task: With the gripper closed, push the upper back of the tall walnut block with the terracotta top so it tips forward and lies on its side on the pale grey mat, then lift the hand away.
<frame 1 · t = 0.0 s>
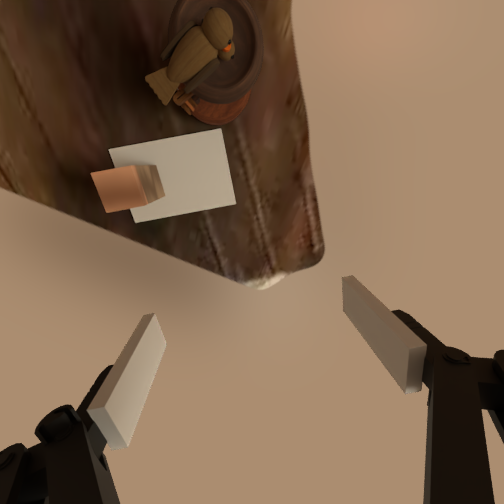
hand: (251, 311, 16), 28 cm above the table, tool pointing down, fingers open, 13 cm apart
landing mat: (176, 178, 39), on the table
walnut block: (146, 183, 39), resting on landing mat
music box: (218, 83, 35), on the table
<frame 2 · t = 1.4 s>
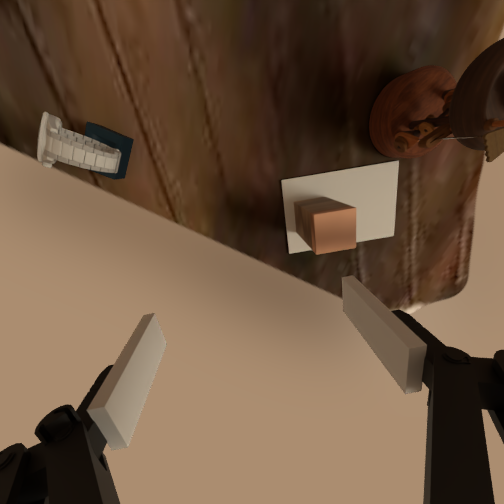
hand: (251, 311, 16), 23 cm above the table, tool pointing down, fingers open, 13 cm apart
watch: (113, 152, 33), on the table
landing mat: (340, 209, 38), on the table
walnut block: (310, 214, 37), resting on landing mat
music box: (406, 115, 34), on the table
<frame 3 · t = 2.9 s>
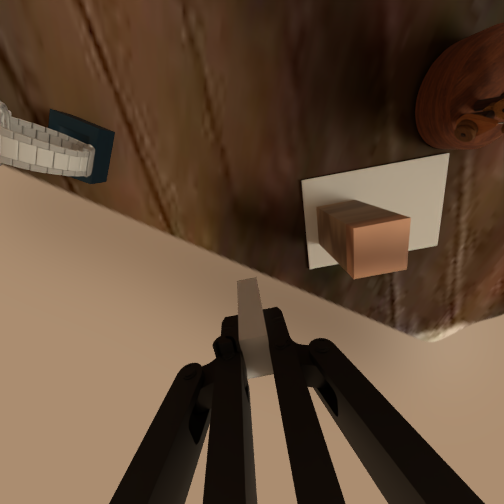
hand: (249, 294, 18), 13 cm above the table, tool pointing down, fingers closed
watch: (90, 150, 26), on the table
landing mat: (373, 214, 30), on the table
walnut block: (336, 222, 30), resting on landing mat
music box: (461, 94, 26), on the table
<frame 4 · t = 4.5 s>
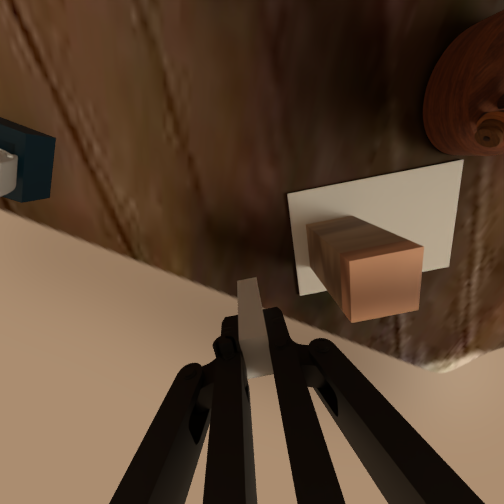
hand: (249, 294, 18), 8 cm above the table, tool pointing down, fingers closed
watch: (26, 160, 21), on the table
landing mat: (373, 232, 26), on the table
walnut block: (330, 242, 25), resting on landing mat
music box: (478, 89, 22), on the table
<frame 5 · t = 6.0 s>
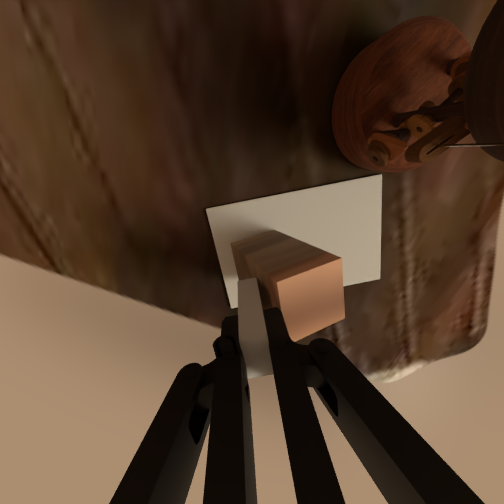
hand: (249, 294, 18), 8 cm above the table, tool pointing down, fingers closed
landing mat: (299, 246, 26), on the table
walnut block: (257, 258, 25), point 1 cm above the table, tilted 18°, touching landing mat
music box: (390, 105, 22), on the table
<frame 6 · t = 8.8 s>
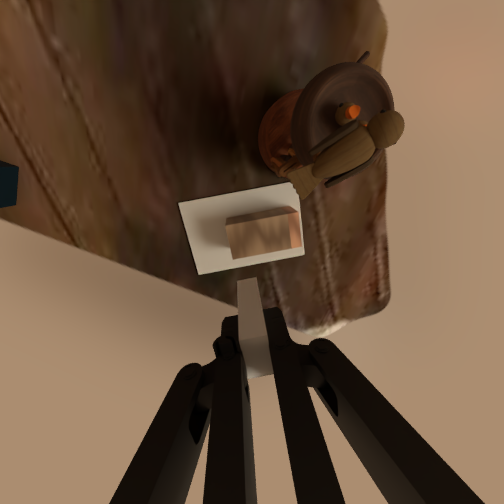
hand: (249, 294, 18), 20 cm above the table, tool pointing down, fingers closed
watch: (0, 180, 32), on the table
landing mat: (245, 229, 37), on the table
walnut block: (229, 238, 34), point 3 cm above the table, tilted 90°, touching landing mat
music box: (298, 135, 33), on the table
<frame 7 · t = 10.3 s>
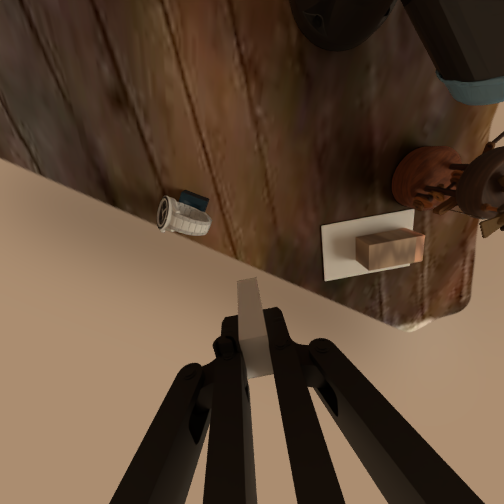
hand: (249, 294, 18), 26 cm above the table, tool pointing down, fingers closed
watch: (192, 208, 42), on the table
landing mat: (366, 246, 47), on the table
walnut block: (361, 253, 44), point 3 cm above the table, tilted 90°, touching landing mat
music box: (420, 175, 43), on the table
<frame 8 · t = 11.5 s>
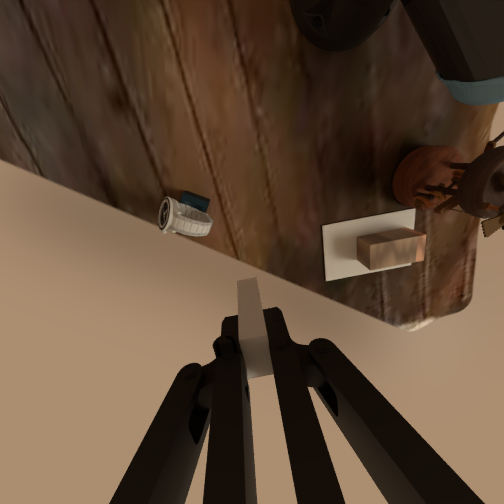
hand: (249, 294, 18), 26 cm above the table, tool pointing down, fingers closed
watch: (193, 209, 42), on the table
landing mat: (368, 245, 47), on the table
walnut block: (363, 253, 44), point 3 cm above the table, tilted 90°, touching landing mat
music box: (421, 174, 43), on the table
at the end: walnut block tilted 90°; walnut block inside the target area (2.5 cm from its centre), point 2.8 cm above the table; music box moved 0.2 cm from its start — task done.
